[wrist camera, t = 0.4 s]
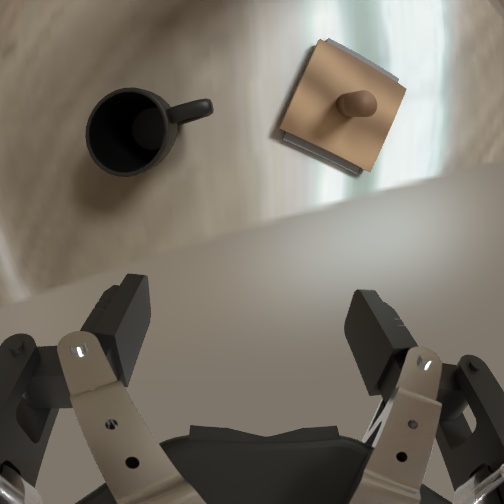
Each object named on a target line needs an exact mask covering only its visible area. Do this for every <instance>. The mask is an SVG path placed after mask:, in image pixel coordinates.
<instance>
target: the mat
mask: <svg viewBox="0 0 504 504" xmlns="http://www.w3.org/2000/svg"><path fill="white" fill-rule="evenodd" d="M326 42H327V43H329V44H331V45H333V46H335V47H337V48H339V49H341V50H343V51H345V52H347V53H349V54H351V55H352V56H354V57H356V58H358V59H360V60H361V61H363V62H365V63H367V64H368V65H370V66H372V67H373V68H375V69H377V70H378V71H380V72H381V73H383V74H385V75H386V76H388V77H389V78H391V79H392V80H394V81H396V82H397V83H398V80H399V79H398V78H397V77H395V76H394V75H392V74H391V73H389V72H388V71H386V70H384V69H383V68H381V67H380V66H378V65H376V64H375V63H373V62H371V61H370V60H368V59H366V58H365V57H363V56H361V55H359V54H358V53H356V52H354V51H352V50H350V49H349V48H347V47H345V46H343V45H341V44H339V43H337V42H335V41H333V40H331V39H329V38H328V39H327V41H326ZM283 140H285V141H287V142H289V143H292V144H294V145H296V146H299V147H301V148H303V149H305V150H307V151H310V152H312V153H314V154H316V155H318V156H320V157H322V158H324V159H327V160H329V161H331V162H333V163H335V164H337V165H339V166H341V167H343V168H345V169H347V170H349V171H351V172H353V173H355V174H358V172H359V170H360V167H359V166H357V165H355V164H353V163H351V162H349V161H347V160H345V159H343V158H341V157H339V156H337V155H335V154H333V153H331V152H329V151H327V150H325V149H323V148H321V147H319V146H317V145H314V144H312V143H310V142H308V141H306V140H304V139H301V138H299V137H297V136H295V135H292V134H290V133H288V132H285V135H284V137H283Z"/></svg>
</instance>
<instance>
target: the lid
mask: <svg viewBox="0 0 504 504" xmlns="http://www.w3.org/2000/svg"><path fill="white" fill-rule="evenodd" d="M405 91H406V88H404V87H403V86H402V85H400V84H399V83H397V82H396V81H394V80H392V79H391V78H389V77H388V76H386V75H385V74H383V73H381V72H380V71H378V70H377V69H375V68H373V67H372V66H370V65H368V64H367V63H365V62H363V61H361V60H360V59H358V58H356V57H354V56H352V55H351V54H349V53H347V52H345V51H343V50H341V49H339V48H337V47H335V46H333V45H331V44H329V43H327V42H325V41H323V40H321V39H320V40H318V42H317V44H316V46H315V48H314V51H313V53H312V55H311V57H310V59H309V61H308V64H307V66H306V68H305V70H304V72H303V75H302V77H301V79H300V81H299V83H298V86H297V88H296V90H295V92H294V95H293V97H292V99H291V101H290V103H289V106H288V108H287V110H286V112H285V115H284V117H283V119H282V122H281V124H280V126H279V129H281V130H283V131H286V132H288V133H290V134H292V135H295V136H297V137H299V138H301V139H304V140H306V141H308V142H310V143H312V144H314V145H317V146H319V147H321V148H323V149H325V150H327V151H329V152H331V153H333V154H335V155H337V156H339V157H341V158H343V159H345V160H347V161H349V162H351V163H353V164H355V165H357V166H359V167H360V168H362V169H364V170H366V171H368V172H371V170H372V168H373V165H374V163H375V161H376V159H377V157H378V155H379V152H380V150H381V148H382V146H383V143H384V141H385V139H386V137H387V134H388V132H389V130H390V128H391V125H392V123H393V121H394V118H395V116H396V113H397V111H398V109H399V106H400V104H401V101H402V99H403V96H404V94H405Z"/></svg>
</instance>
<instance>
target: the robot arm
mask: <svg viewBox="0 0 504 504" xmlns="http://www.w3.org/2000/svg"><path fill="white" fill-rule="evenodd" d="M150 318H151V307H150V297H149V285H148V277H147V276H146V275H138V274H127V275H126V277H125V278H124V280H123V281H122V283H121V284H120V286H118V285H113V286H112V287H110V288H109V289H108V290H106V291H105V292H104V293H103V295H102V296H101V298H100V299H99V302H98V303H97V304H96V306H95V309H93V310H92V312H91V314H90V315H89V317H88V318H87V320H86V322H85V323H84V325H83V326H82V328H81V330H80V331H77V332H72V333H69V334H67V335H66V336H64V337H63V338H62V339H61V340H60V341H59V344H58V346H44V347H37V346H36V343H35V341H34V339H33V338H32V337H31V336H30V335H27V334H15V335H13V336H10V337H9V338H7V339H6V340H5V341H4V342H3V343H2V344H1V346H0V504H42V499H41V496H40V494H39V493H38V491H37V490H36V489H35V484H36V480H37V476H38V473H39V469H40V466H41V462H42V459H43V456H44V453H45V449H46V446H47V443H48V440H49V437H50V434H51V431H52V428H53V425H54V422H55V419H56V416H57V414H58V411H59V408H73V409H74V412H75V415H76V417H77V420H78V422H79V425H80V427H81V430H82V432H83V435H84V437H85V440H86V441H87V444H88V446H89V448H90V451H91V453H92V455H93V457H94V459H95V462H96V464H97V466H98V468H99V470H100V472H101V473H102V476H103V478H104V480H105V481H106V482H105V483H104V484H103V485H101V486H100V487H98V488H97V489H96V490H94V491H93V492H91V493H90V494H88V495H87V496H86V497H84V498H83V499H81V500H80V501H78V502H77V503H75V504H504V392H503V390H502V388H501V387H500V385H499V383H498V382H497V380H496V379H495V377H494V376H493V374H492V372H491V371H490V369H489V368H488V366H487V365H486V364H485V362H483V361H482V360H481V359H480V358H478V357H476V356H473V355H465V356H463V357H461V359H460V361H459V362H458V364H457V365H451V364H444V363H442V361H441V359H440V358H439V356H438V355H437V354H436V353H435V352H433V351H432V350H430V349H428V348H425V347H419V346H418V345H417V343H416V342H415V340H414V339H413V337H412V336H411V334H410V332H409V331H408V329H407V328H406V326H404V324H403V322H402V320H401V319H400V317H399V316H398V314H397V313H396V311H395V310H394V309H393V308H392V307H390V306H389V305H388V304H387V303H385V302H383V301H382V300H381V298H380V297H379V295H378V294H377V292H376V291H375V290H356V291H355V292H354V295H353V298H352V301H351V304H350V308H349V311H348V314H347V317H346V320H345V326H344V331H345V336H346V339H347V341H348V343H349V346H350V348H351V351H352V352H353V356H354V358H355V360H356V363H357V365H358V368H359V370H360V373H361V375H362V378H363V380H364V383H365V385H366V388H367V391H368V393H369V395H370V396H373V395H382V400H381V402H380V403H379V406H378V408H377V410H376V412H375V415H374V417H373V419H372V421H371V423H370V425H369V427H368V430H367V432H366V434H365V436H364V438H363V440H362V441H359V440H356V439H353V438H350V437H345V436H340V435H339V433H338V428H337V426H328V427H316V428H315V427H314V428H302V429H298V430H294V431H290V432H286V433H283V434H278V435H274V436H269V437H264V436H259V435H254V434H249V433H246V432H241V431H237V430H233V429H229V428H218V427H204V426H193V425H191V426H190V434H189V435H186V436H180V437H175V438H172V439H169V440H166V441H163V442H161V443H159V444H158V442H157V441H156V439H155V437H154V436H153V434H152V433H151V431H150V430H149V428H148V426H147V425H146V423H145V422H144V420H143V418H142V417H141V415H140V414H139V412H138V410H137V408H136V407H135V405H134V403H133V401H132V400H131V398H130V396H129V394H128V393H127V391H126V389H125V387H128V384H129V381H130V378H131V375H132V372H133V369H134V366H135V363H136V360H137V358H138V355H139V351H140V349H141V346H142V343H143V341H144V338H145V335H146V332H147V329H148V327H149V323H150ZM468 404H469V406H470V408H471V410H472V412H473V414H474V416H475V417H476V421H477V424H476V429H475V431H474V432H473V433H472V432H471V430H470V427H469V425H468V423H467V421H466V419H465V417H464V415H463V413H462V412H463V411H464V409H465V408H466V407H467V405H468ZM17 406H18V407H17ZM435 437H436V440H437V443H438V445H439V448H440V450H441V453H442V456H443V458H444V461H445V464H446V467H447V470H448V472H449V476H450V479H451V481H452V485H453V488H454V491H455V494H454V498H453V503H451V502H450V501H448V500H447V499H445V498H443V497H442V496H440V495H439V494H437V493H436V492H434V491H433V490H431V489H430V488H428V487H427V486H425V485H424V484H422V481H423V478H424V475H425V472H426V469H427V465H428V462H429V458H430V455H431V451H432V447H433V444H434V440H435Z"/></svg>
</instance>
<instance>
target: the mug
mask: <svg viewBox="0 0 504 504" xmlns="http://www.w3.org/2000/svg"><path fill="white" fill-rule="evenodd" d="M212 113H213V105H212V102H211V100H210V99H200V100H196V101H192V102H188V103H184V104H181V105H178V106H175V107H170V105H169V104H168V103H167V102H166V101H165V100H164V99H163V98H161V97H160V96H158V95H156V94H155V93H152V92H149V91H146V90H142V89H138V88H123V89H119V90H116V91H114V92H112V93H110V94H108V95H106V96H105V97H104V98H103V99H102V100H100V101H99V103H98V104H97V105H96V106H95V108H94V109H93V111H92V113H91V115H90V117H89V119H88V123H87V126H86V143H87V148H88V150H89V153H90V155H91V157H92V159H93V160H94V162H95V163H96V164H97V165H98V166H99V167H100V168H101V169H103V170H104V171H106V172H108V173H109V174H113V175H116V176H123V177H129V176H135V175H138V174H140V173H143V172H145V171H147V170H149V169H150V168H152V167H153V166H155V165H156V164H158V163H159V162H161V161H162V160H163V159H164V157H165V156H166V155H167V154H168V153H169V151H170V150H171V148H172V146H173V145H174V142H175V139H176V136H177V126H178V125H181V124H185V123H188V122H191V121H194V120H197V119H200V118H203V117H206V116H209V115H211V114H212Z"/></svg>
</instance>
